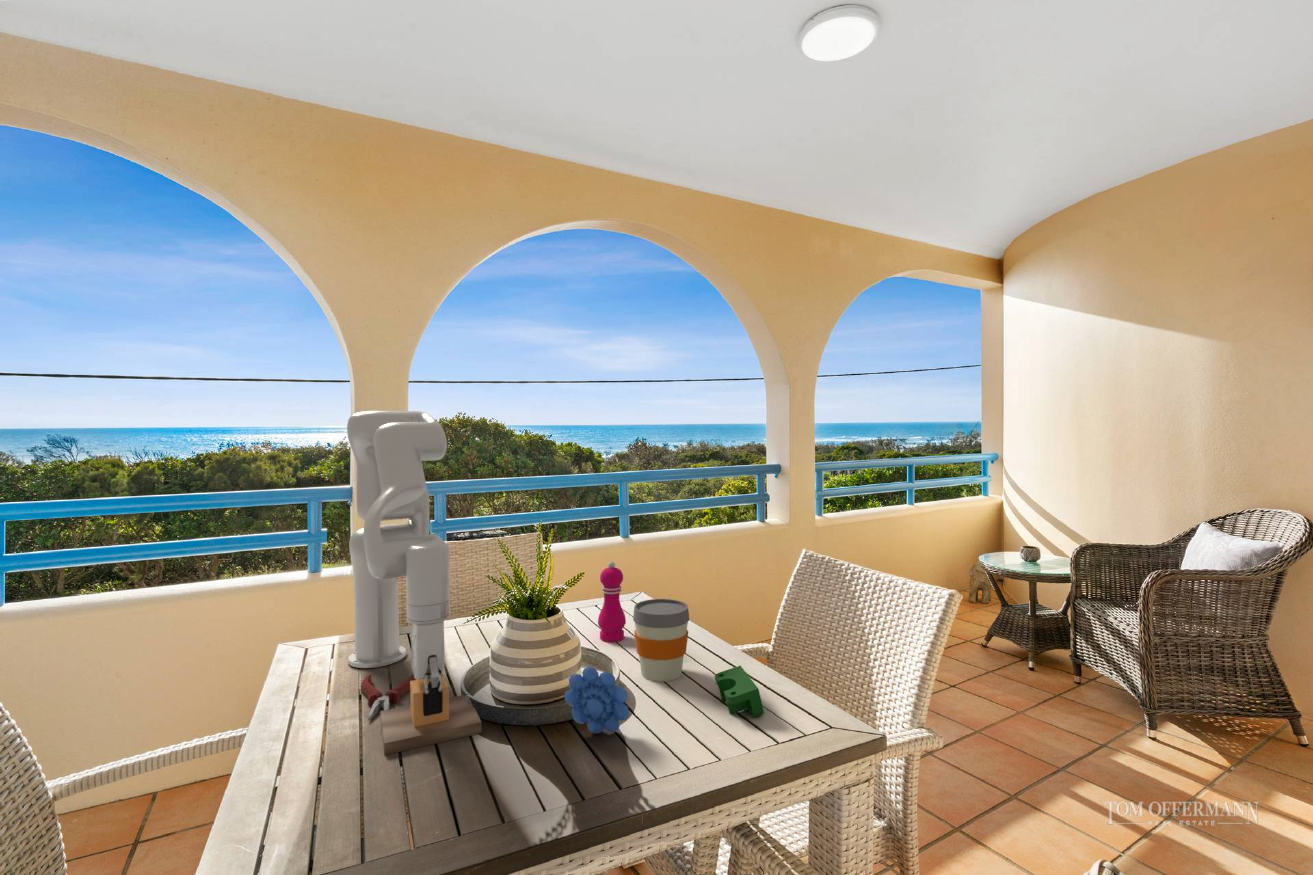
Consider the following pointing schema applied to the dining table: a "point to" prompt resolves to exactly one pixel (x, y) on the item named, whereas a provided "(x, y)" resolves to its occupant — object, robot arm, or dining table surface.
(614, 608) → the pepper mill
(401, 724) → the board
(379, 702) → the pliers
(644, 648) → the reusable coffee cup
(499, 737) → the dining table surface
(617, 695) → the blue knobbed flower
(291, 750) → the dining table surface
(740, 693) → the clamp
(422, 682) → the matte orange cube
